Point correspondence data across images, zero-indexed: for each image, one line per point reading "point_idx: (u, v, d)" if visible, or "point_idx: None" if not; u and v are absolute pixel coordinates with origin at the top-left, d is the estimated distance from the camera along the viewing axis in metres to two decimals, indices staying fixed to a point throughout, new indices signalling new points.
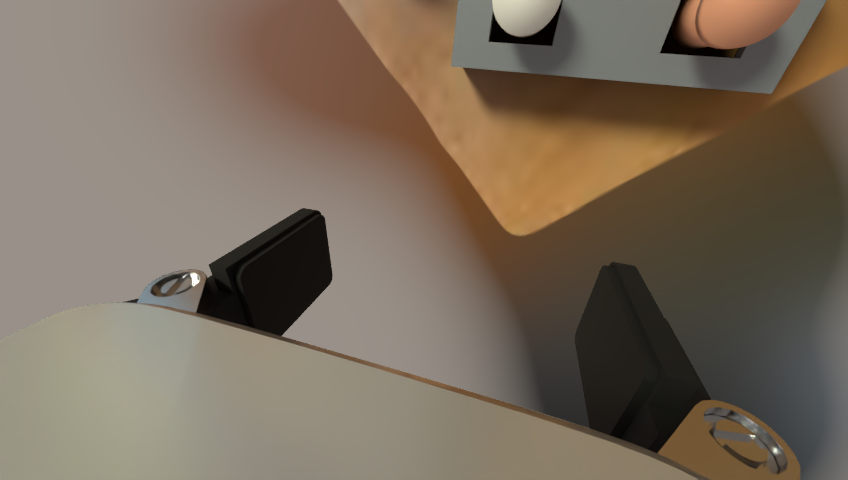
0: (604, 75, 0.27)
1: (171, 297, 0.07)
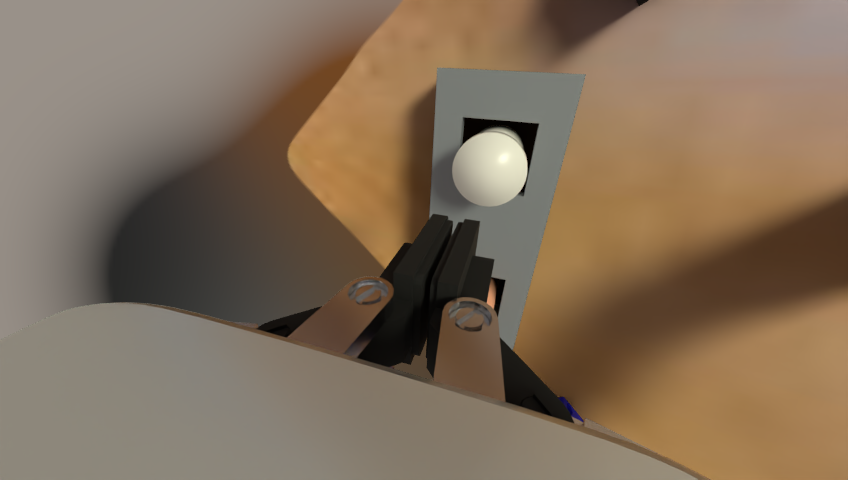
0: None
1: (355, 305, 0.07)
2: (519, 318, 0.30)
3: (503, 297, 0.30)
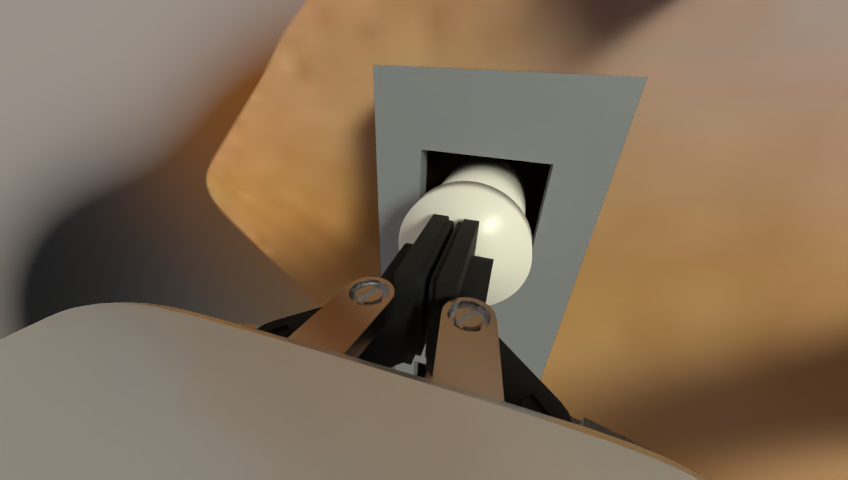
0: None
1: (356, 305, 0.07)
2: None
3: None
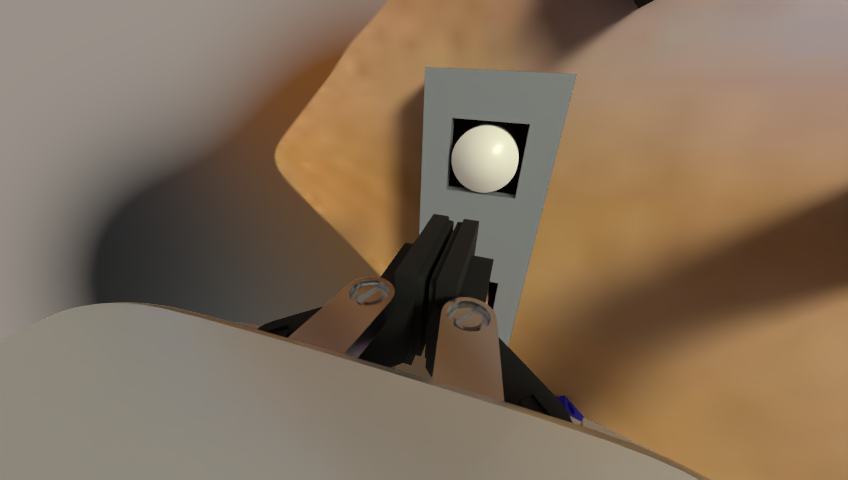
0: None
1: (356, 305, 0.07)
2: (512, 322, 0.30)
3: (496, 301, 0.29)
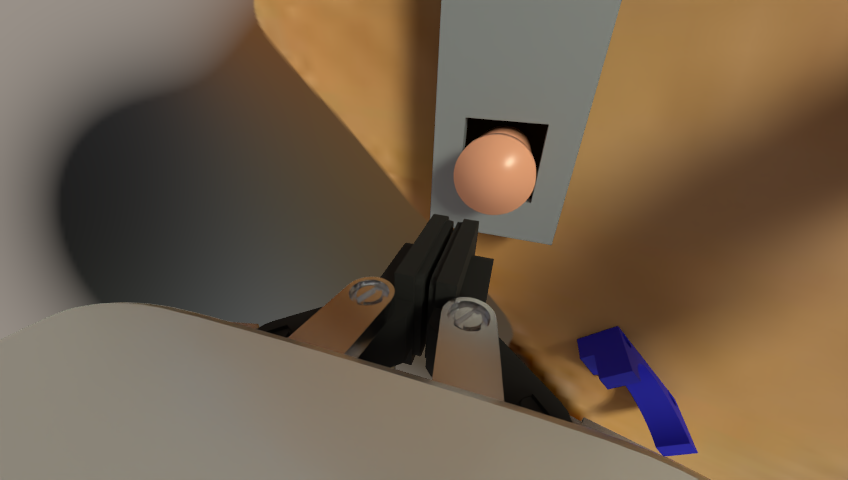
0: (442, 57, 0.20)
1: (356, 305, 0.07)
2: (564, 190, 0.22)
3: (543, 156, 0.21)
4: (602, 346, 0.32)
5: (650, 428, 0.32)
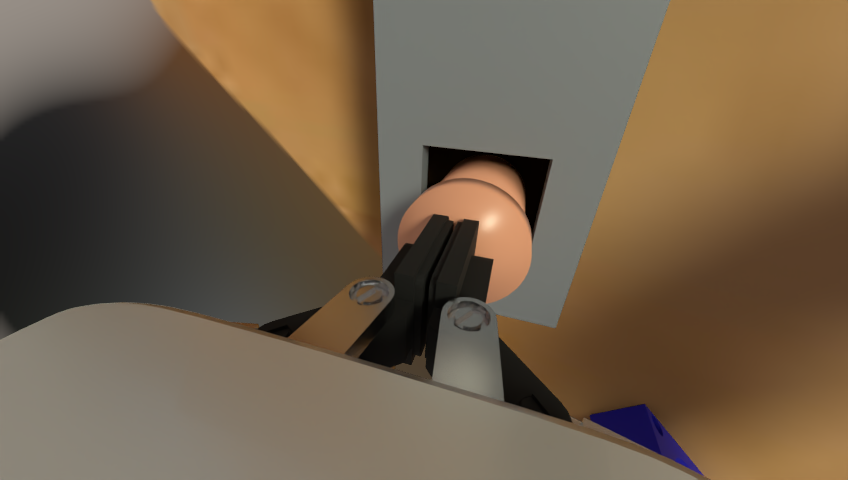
0: (381, 52, 0.13)
1: (356, 305, 0.07)
2: (576, 256, 0.14)
3: (544, 207, 0.14)
4: (625, 434, 0.24)
5: None
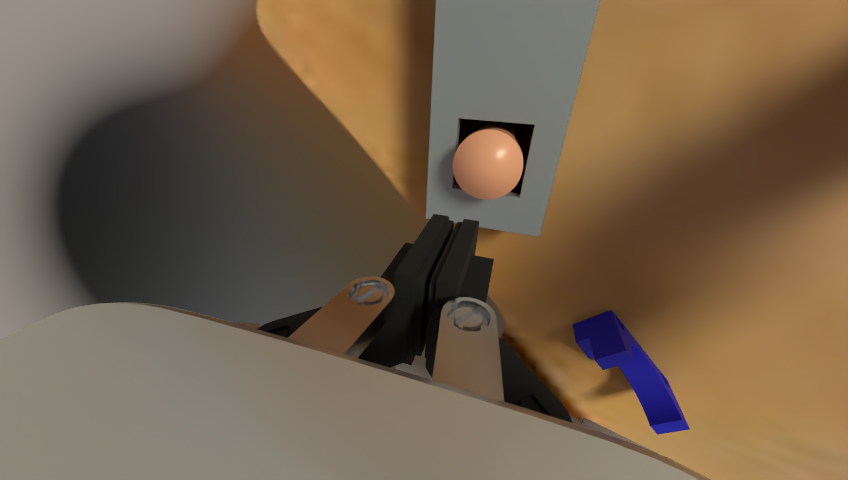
0: (436, 63, 0.22)
1: (356, 305, 0.07)
2: (550, 185, 0.24)
3: (530, 154, 0.23)
4: (597, 329, 0.33)
5: (644, 408, 0.33)
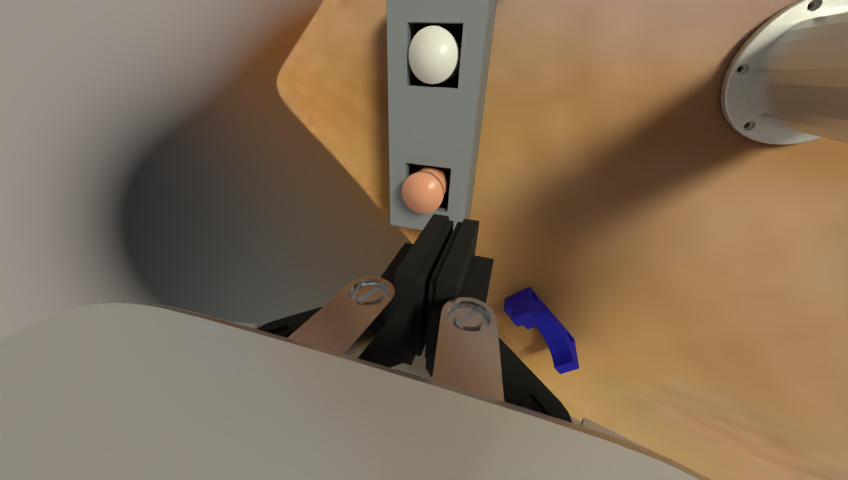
0: (391, 130, 0.36)
1: (357, 305, 0.07)
2: (464, 204, 0.37)
3: (450, 185, 0.37)
4: (517, 300, 0.46)
5: (553, 356, 0.47)
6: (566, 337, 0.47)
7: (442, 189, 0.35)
